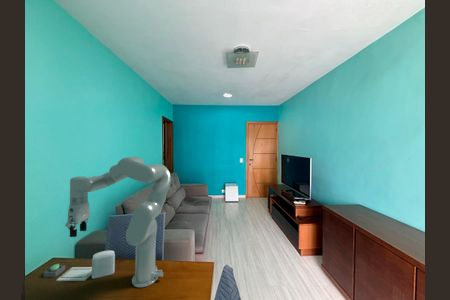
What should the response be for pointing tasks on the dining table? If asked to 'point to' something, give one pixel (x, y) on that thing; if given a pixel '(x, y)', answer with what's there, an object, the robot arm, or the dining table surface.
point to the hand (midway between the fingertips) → (78, 233)
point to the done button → (54, 267)
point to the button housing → (54, 274)
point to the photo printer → (103, 264)
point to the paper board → (76, 274)
